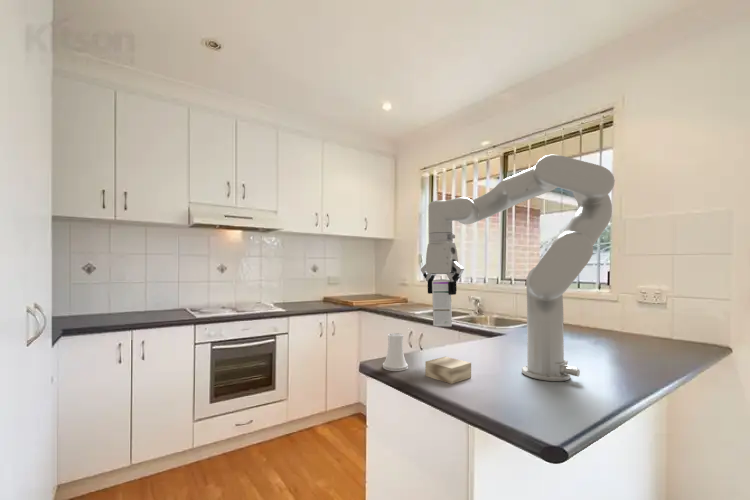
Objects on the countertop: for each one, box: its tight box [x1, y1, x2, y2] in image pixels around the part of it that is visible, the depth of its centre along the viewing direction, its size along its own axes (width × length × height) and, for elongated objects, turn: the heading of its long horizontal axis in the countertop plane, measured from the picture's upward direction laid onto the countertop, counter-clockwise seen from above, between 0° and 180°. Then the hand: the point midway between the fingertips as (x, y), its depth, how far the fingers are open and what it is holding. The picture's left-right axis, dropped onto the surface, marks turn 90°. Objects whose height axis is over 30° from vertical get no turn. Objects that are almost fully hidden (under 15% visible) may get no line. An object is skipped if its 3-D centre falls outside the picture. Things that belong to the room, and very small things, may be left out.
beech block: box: [424, 356, 472, 385], centre depth 102 cm, size 9×9×4 cm
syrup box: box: [432, 278, 453, 327], centre depth 116 cm, size 6×6×14 cm
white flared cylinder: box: [382, 332, 409, 372], centre depth 110 cm, size 8×8×10 cm
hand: (441, 293), depth 116 cm, fingers closed on syrup box, 7 cm apart
